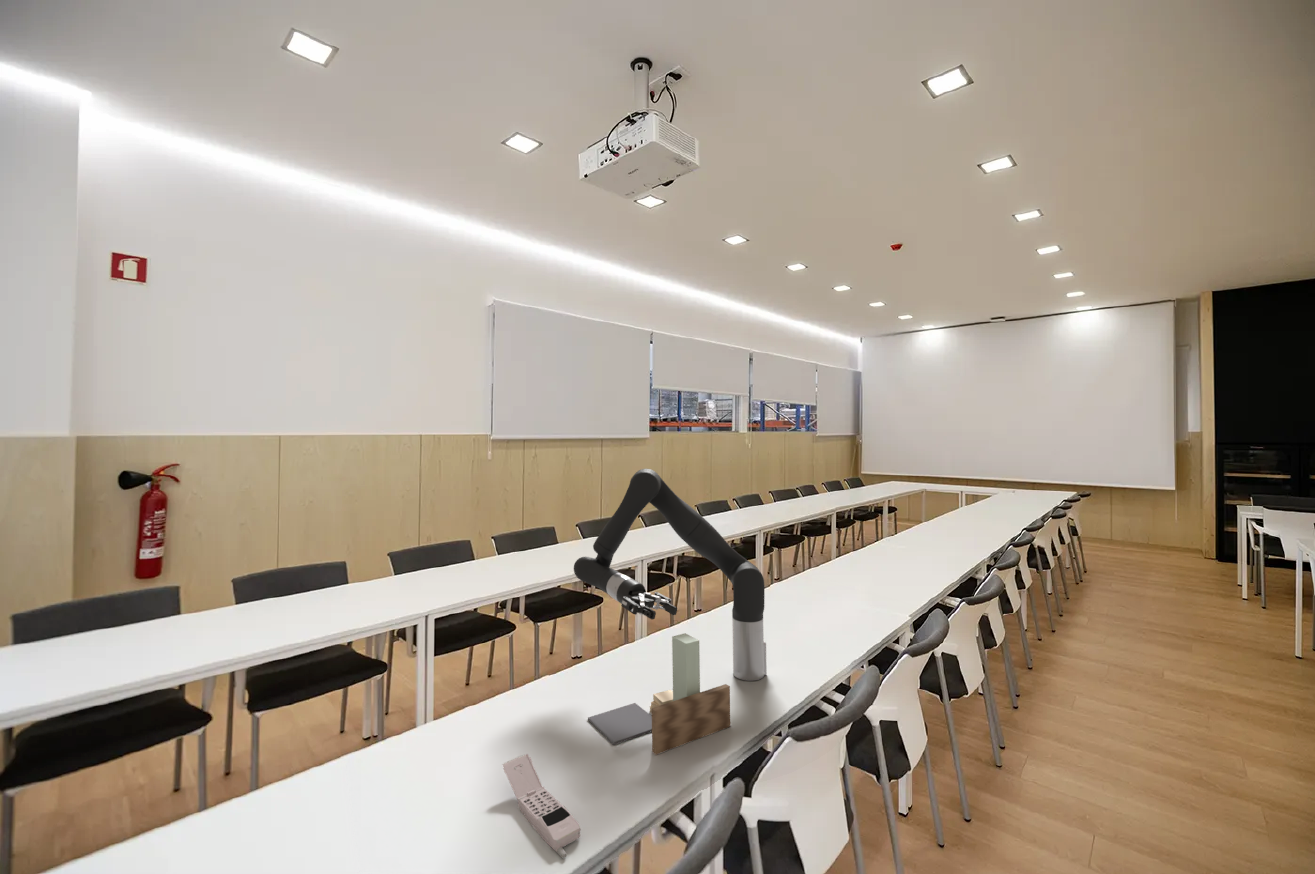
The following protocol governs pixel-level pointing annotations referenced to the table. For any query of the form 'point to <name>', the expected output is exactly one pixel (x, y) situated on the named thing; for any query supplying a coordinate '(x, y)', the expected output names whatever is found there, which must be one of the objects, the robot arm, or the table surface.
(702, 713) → the walnut rack
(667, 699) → the offcut stack
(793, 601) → the table surface
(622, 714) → the charcoal mat
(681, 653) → the sage green pillar
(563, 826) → the mobile phone
